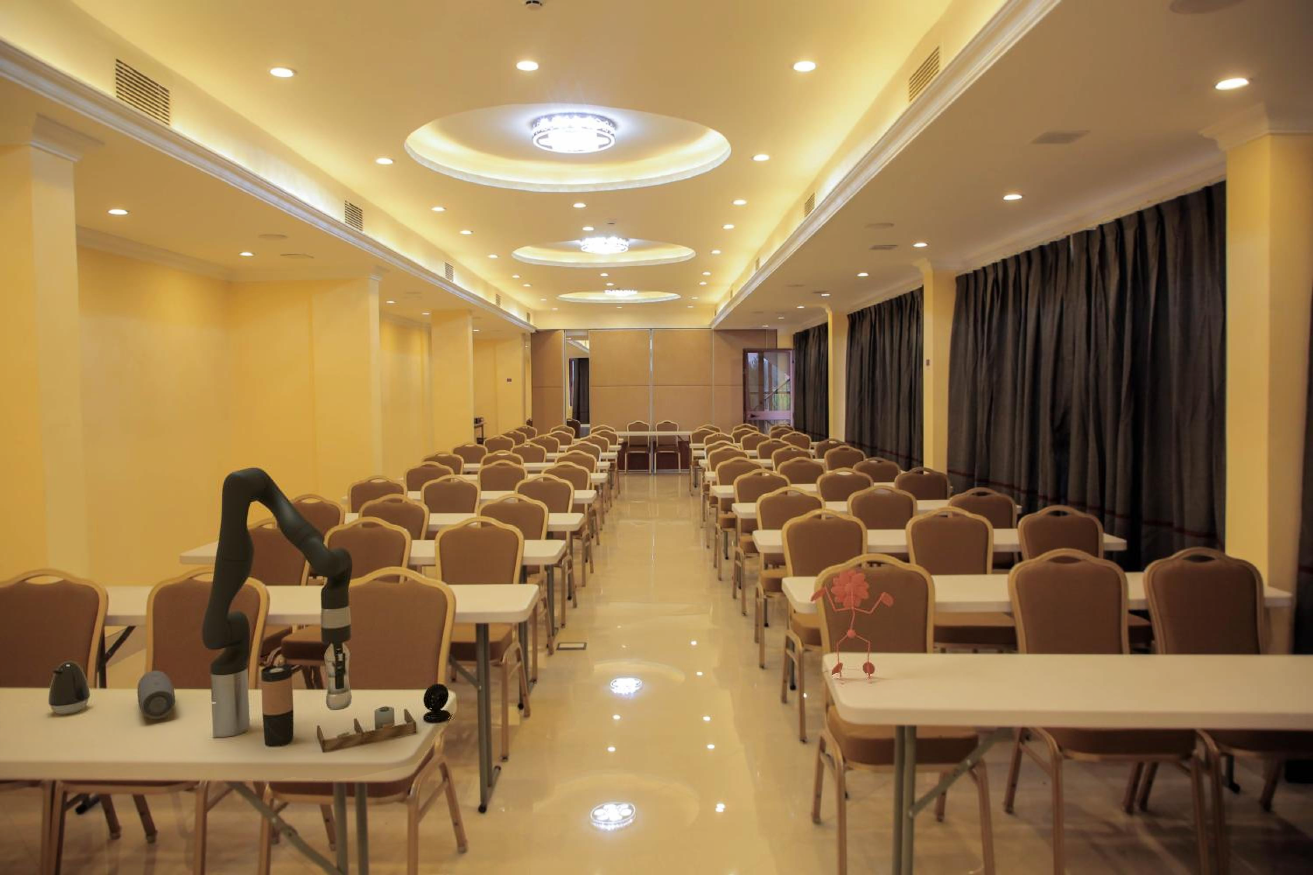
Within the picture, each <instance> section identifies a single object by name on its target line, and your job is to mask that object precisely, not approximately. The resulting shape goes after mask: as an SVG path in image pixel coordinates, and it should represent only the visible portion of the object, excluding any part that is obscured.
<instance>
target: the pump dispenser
mask: <svg viewBox="0 0 1313 875" xmlns="http://www.w3.org/2000/svg"><path fill="white" fill-rule="evenodd" d="M51 672H52V673H53V677H52V678H51V682H50V687H49V691H48V702H47V703H48V705H49V706H50V708H51V710H52V711H53V712H54V713H56V714H57V715H65V716H66V715H71V714H75V713H78V712H80V711H82V710H83V709H85V707H86V706H87V704H88V702H89V698H90V697H91V692H90V686H89V682H88V680H87V677H86V674H85V672H84V671H83V669H82V667H81V666H80V665H79V664H78V663H77V662H76V661H71V660H69V661H64V662H62V663H60V664H59V666H58V667H57V668H55V669H52V671H51Z"/></svg>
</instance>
